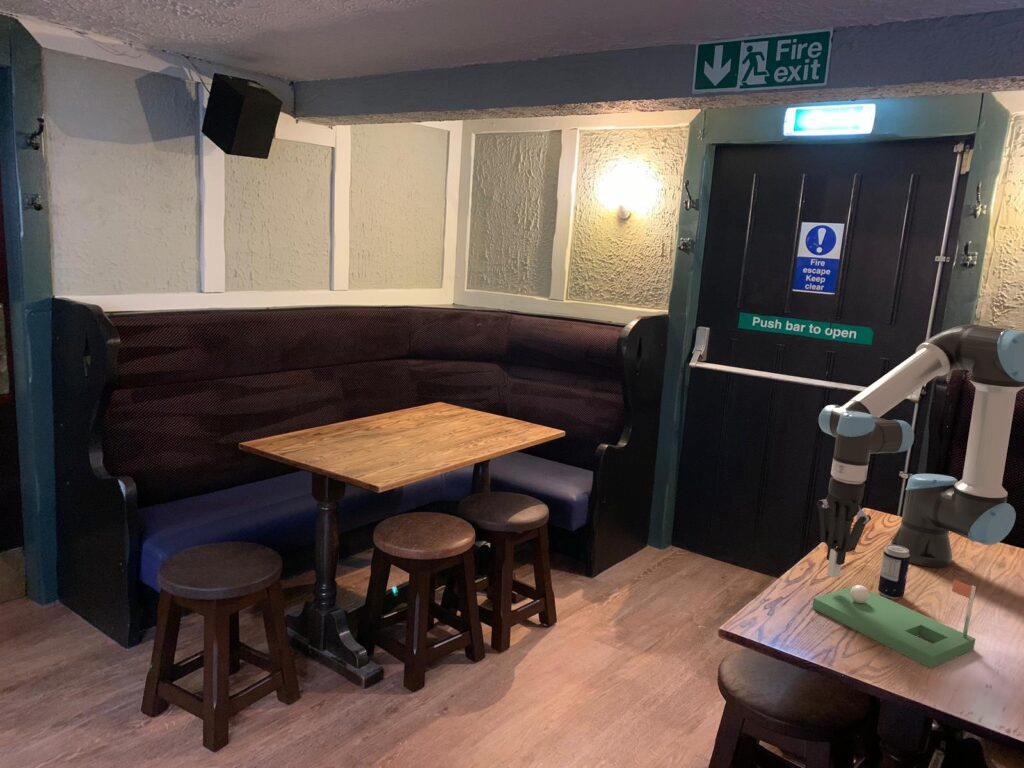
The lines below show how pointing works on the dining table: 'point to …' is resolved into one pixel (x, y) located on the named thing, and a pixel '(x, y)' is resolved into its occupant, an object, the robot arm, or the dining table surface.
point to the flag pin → (969, 593)
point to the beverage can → (894, 571)
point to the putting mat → (896, 626)
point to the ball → (859, 594)
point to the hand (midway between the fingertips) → (833, 575)
